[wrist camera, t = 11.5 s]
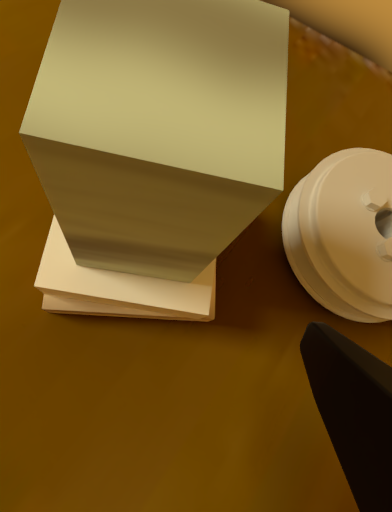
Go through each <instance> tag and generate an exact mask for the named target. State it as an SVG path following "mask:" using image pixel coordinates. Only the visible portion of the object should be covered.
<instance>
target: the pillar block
mask: <svg viewBox="0 0 392 512" xmlns="http://www.w3.org/2000/svg"><path fill="white" fill-rule="evenodd" d="M288 31H289V10H287V9H283V8H281V7H277V6H274V5H271V4H268V3H265V2H262V1H259V0H61V3H60V6H59V10H58V13H57V16H56V19H55V22H54V25H53V28H52V31H51V35H50V38H49V41H48V44H47V47H46V50H45V53H44V56H43V60H42V63H41V66H40V69H39V72H38V75H37V78H36V81H35V84H34V88H33V91H32V94H31V97H30V100H29V103H28V106H27V109H26V113H25V116H24V119H23V122H22V125H21V128H20V131H19V134H20V136H21V138H22V141H23V143H24V145H25V148H26V150H27V152H28V155H29V157H30V159H31V161H32V164H33V166H34V168H35V171H36V173H37V175H38V177H39V180H40V182H41V184H42V187H43V189H44V191H45V194H46V196H47V198H48V200H49V203H50V205H51V207H52V210H53V212H54V214H55V217H56V219H57V221H58V223H59V226H60V228H61V230H62V233H63V235H64V237H65V239H66V242H67V244H68V246H69V249H70V251H71V253H72V256H73V258H74V260H75V262H76V265H80V266H86V267H92V268H99V269H105V270H111V271H118V272H124V273H130V274H137V275H143V276H149V277H155V278H162V279H168V280H174V281H181V282H187V283H191V282H192V281H193V280H194V279H195V278H196V277H197V276H198V275H199V274H200V273H201V272H202V271H203V270H204V269H205V268H206V267H207V266H208V265H209V264H210V263H211V262H212V261H213V260H214V259H215V258H216V257H217V256H218V255H219V254H220V253H221V252H222V251H223V250H224V249H225V248H226V247H227V246H228V245H229V244H230V243H231V242H232V241H233V240H234V239H235V238H236V237H237V236H238V235H239V234H240V233H241V232H242V231H243V230H244V229H245V228H246V227H247V226H248V225H249V224H250V223H251V222H252V221H253V220H254V219H255V218H256V217H257V216H258V215H259V214H260V213H261V212H262V211H263V210H264V209H265V208H266V207H267V206H268V205H269V204H270V203H271V202H272V201H273V200H274V199H275V198H276V197H277V196H278V195H279V194H280V193H281V192H282V191H283V180H284V150H285V120H286V91H287V61H288Z"/></svg>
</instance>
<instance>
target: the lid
mask: <svg viewBox="0 0 392 512" xmlns="http://www.w3.org/2000/svg"><path fill="white" fill-rule="evenodd" d="M282 238H283V244H284V249H285V252H286V256H287V259H288V261H289V264H290V266H291V268H292V270H293V272H294V274H295V275H296V277H297V279H298V280H299V282H300V283H301V285H302V286H303V287H304V288H305V290H306V291H307V292H308V293H309V294H310V295H311V296H312V297H313V298H314V299H315V300H316V301H317V302H318V303H320V304H321V305H322V306H324V307H325V308H326V309H328V310H330V311H331V312H333V313H335V314H337V315H339V316H341V317H344V318H346V319H349V320H353V321H357V322H365V323H376V322H384V321H388V320H392V155H391V154H388V153H385V152H382V151H379V150H374V149H368V148H351V149H346V150H342V151H339V152H336V153H334V154H332V155H330V156H328V157H327V158H325V159H324V160H322V161H321V162H320V163H319V164H318V165H317V166H316V167H315V168H314V169H313V170H312V171H311V172H310V173H309V174H308V175H307V176H305V177H304V178H303V179H302V180H301V181H300V182H299V183H298V184H297V185H296V186H295V187H294V189H293V190H292V192H291V193H290V195H289V197H288V200H287V202H286V204H285V208H284V212H283V218H282Z"/></svg>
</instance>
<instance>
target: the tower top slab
mask: <svg viewBox="0 0 392 512" xmlns="http://www.w3.org/2000/svg"><path fill="white" fill-rule="evenodd" d="M215 261H216V258H215V259H214V260H213V261H212V262H211V263H210V264H209V265H208V266H207V267H206V268H205V269H204V270H203V271H202V272H201V273H200V274H199V275H198V276H197V277H196V278H195V279H194V280H193V281H192V282H191V283H187V282H181V281H174V280H168V279H162V278H155V277H149V276H143V275H137V274H130V273H124V272H118V271H111V270H105V269H99V268H92V267H86V266H80V265H76V262H75V260H74V258H73V256H72V253H71V251H70V249H69V246H68V244H67V242H66V239H65V237H64V235H63V233H62V230H61V228H60V226H59V223H58V221H57V219H56V217H55V214H54V218H53V221H52V225H51V228H50V232H49V235H48V239H47V242H46V246H45V249H44V253H43V256H42V260H41V263H40V267H39V270H38V274H37V277H36V281H35V285H34V286H35V287H36V288H37V289H38V290H40V291H41V292H42V293H44V294H47V295H53V296H60V297H66V298H72V299H78V300H84V301H90V302H96V303H102V304H108V305H114V306H120V307H126V308H132V309H138V310H144V311H150V312H156V313H163V314H169V315H175V316H181V317H187V318H193V319H201V318H203V317H206V316H209V309H210V301H211V293H212V285H213V277H214V269H215Z"/></svg>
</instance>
